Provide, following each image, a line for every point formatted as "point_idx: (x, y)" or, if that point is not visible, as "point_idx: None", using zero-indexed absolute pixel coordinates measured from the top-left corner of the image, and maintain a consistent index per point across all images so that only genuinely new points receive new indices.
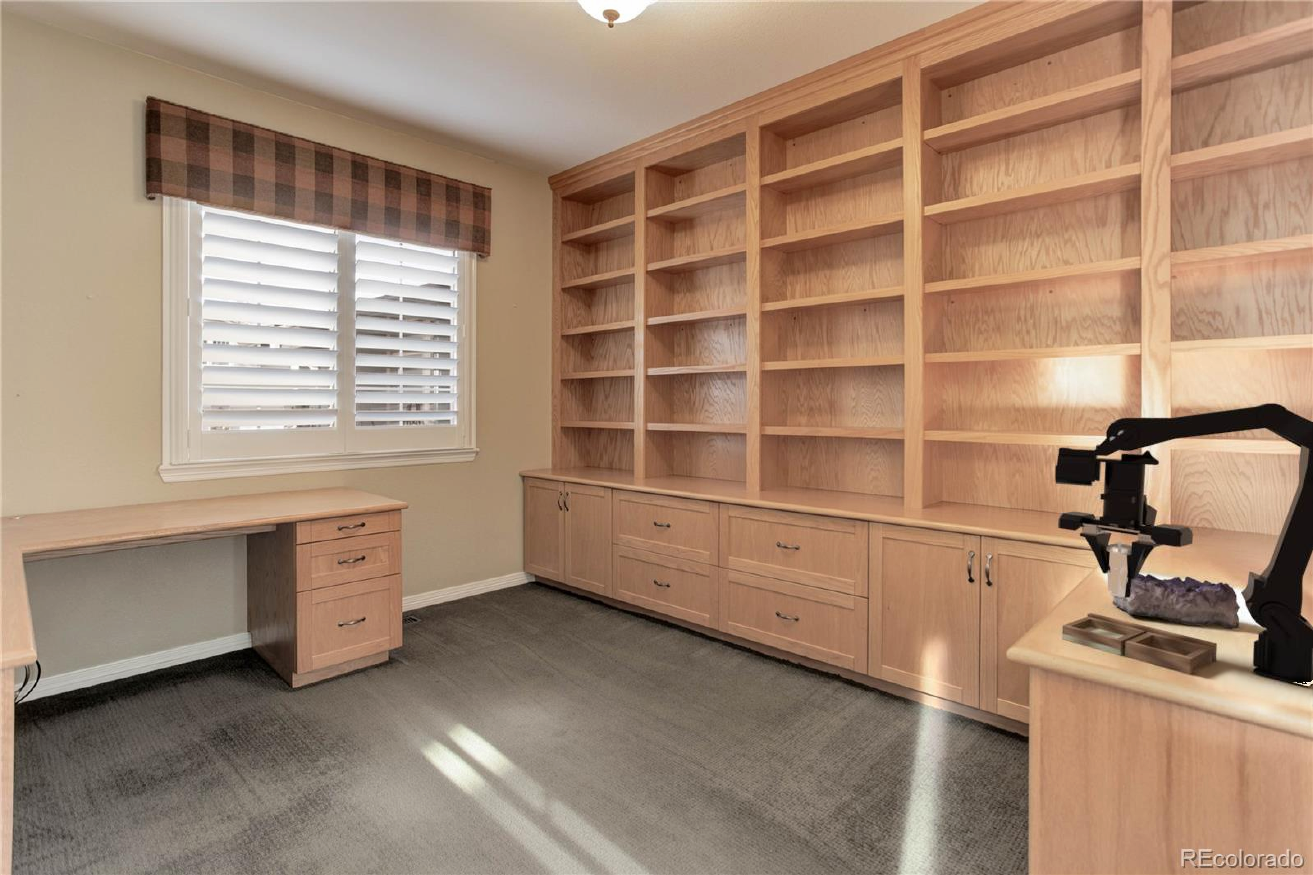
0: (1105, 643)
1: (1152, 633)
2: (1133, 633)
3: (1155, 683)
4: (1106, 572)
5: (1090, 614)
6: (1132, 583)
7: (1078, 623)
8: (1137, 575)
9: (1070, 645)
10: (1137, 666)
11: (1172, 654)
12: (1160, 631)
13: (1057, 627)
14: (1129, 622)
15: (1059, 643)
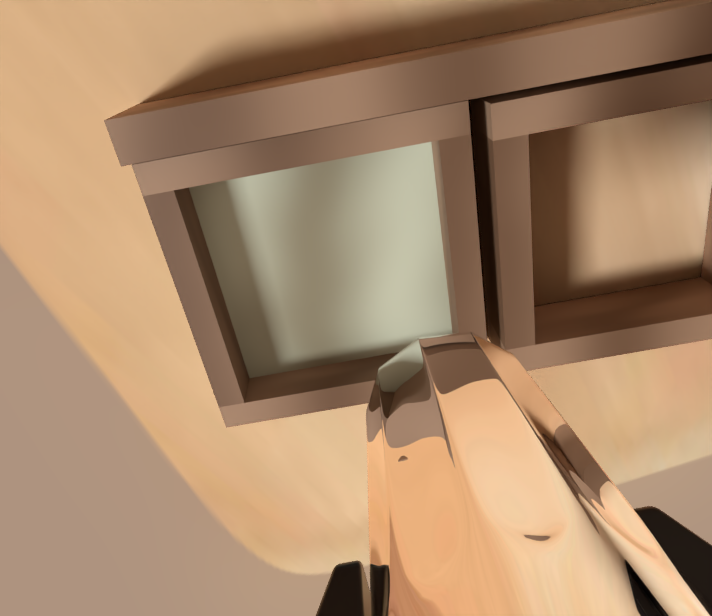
0: None
1: (515, 109)
2: (460, 220)
3: (666, 466)
4: (370, 593)
5: (138, 161)
6: (567, 424)
7: (220, 328)
8: (686, 534)
9: (307, 416)
10: (567, 388)
11: (701, 340)
12: (554, 76)
13: (84, 264)
14: (355, 77)
15: (273, 434)
